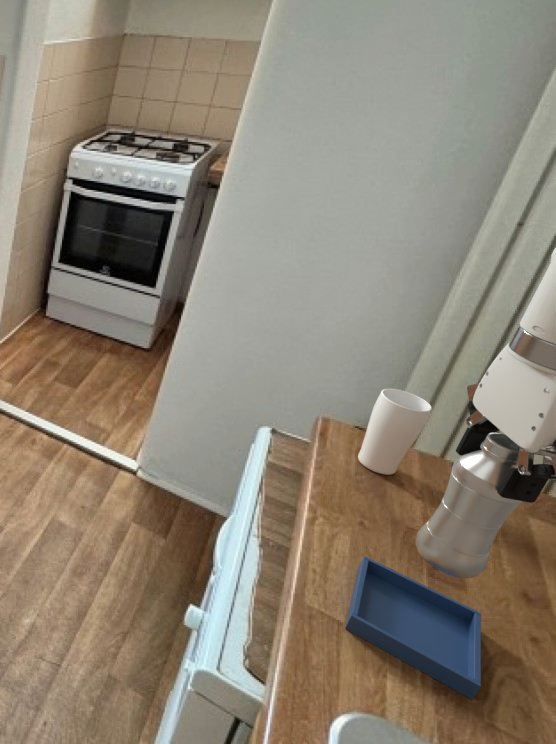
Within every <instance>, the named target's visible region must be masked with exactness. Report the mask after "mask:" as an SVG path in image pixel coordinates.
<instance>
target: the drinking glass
mask: <svg viewBox="0 0 556 744" xmlns="http://www.w3.org/2000/svg"><path fill="white" fill-rule="evenodd" d="M432 410H433V408H432V405H431V404H430V403H429V402H428V401H426V400H425V399H424V398H422V397H420V396H418V395H417V394H415V393H411V392H408V391H406V390H403V389H398V388H384V389H382V390H381V391H380V393H379V395H378V396H377V399H376V401H375V402H374V405H373V408H372V410H371V414H370V417H369V419H368V420H369V421H368V424H367V427H366V431H365V433H364V438H363V440H362V444H361V447H360V450H359V452H358V454H357V459H358V461H359V463H360V464H361V465H362V466H364V467H365V469H369V470H370V471H372V472H374V473H377V474H380V475H383V476H385V475H386V476H391V475H394V474H395V473H396V472H397V470H398V468H399V467H400V464H401V463H402V461H403V460H404V459H405V458H406V455H407V454H408V452H409V451H410V450H411V448H412V446H413V445H414V443H415V442H416V440H417V439H418V437H419V436H420V435H421V433H422V432H423V430H424V428H425V426H426V424H427V422H428V421H429V418H430V415H431V413H432Z"/></svg>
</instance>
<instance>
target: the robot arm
mask: <svg viewBox="0 0 556 744" xmlns="http://www.w3.org/2000/svg"><path fill="white" fill-rule="evenodd" d="M466 390H467V397H468V401H469V402H468V403H467V408H468V413H469V416H468V417H466V419H465V424H466V425H467V427H466V429H465V431H464V433H463V435H462V437H461V439H460V441H459V442H458V445H457V446H456V448H455V453H456V454H458V455H459V456H460V457H461V456H462V455H465V454H468V453H471V452H474V451H479V450H482V449H481V447H480V446H481V443H482V442H483V441H484V440H485V439H486V437H487V435H488V434H489V433H493V432H494V433H500V432H499V431H501V433H502V434H505V435H507V436H508V437H509V438H510V439H511V440H512V441H514V442H515V443H516V444H517V445H518V446H519V457H518V468H512V467H511V468H510V469H509V471H508V473H507V475H506V476H505V478H504V480H503V482H502V483H501V485H500V487H499V489H498V491H497V493H498V494H499V495H500V496H501V497H503V498H508V499H513V500H518V501H522V502H523V503H524V502H525V503H529V504H532V503H533V504H534V503H535V502H536V501H537V500H538V498H539V496H540V495H541V493H542V491H543V489H544V488H545V486H546V485H547V483H548V481H549V480H550V481H556V247H554V249H553V251H552V253H551V256H550V263H549V265H548V268H547V269H546V271H545V273H544V274H543V277H542V279H541V281H540V282H539V285H538V287H537V289H536V290H535V293H534V294H533V296H532V298H531V300H530V301H529V304H528V306H527V308H526V310H525V312H524V314H523V316H522V318H521V319H520V321H519V323H518V325H517V327H516V329H515V331H514V333H513V334H512V337H511V338H510V341H509V342H508V343H507V344H505V346H504V347H503V349H501V351H500V352H499V353H498V354H497V356H496V357H495V358H494V360H493V361H492V362H491V364H490V365H489V366H488V368H487V369H486V371H485V373H484V375H483V376H482V377H481V380H480V382H478V383H473V384H469V385H467V387H466ZM535 455H536V456H542V463H534V461H535V460H534V459H535Z"/></svg>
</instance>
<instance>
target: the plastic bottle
mask: <svg viewBox="0 0 556 744" xmlns="http://www.w3.org/2000/svg"><path fill="white" fill-rule="evenodd" d="M480 447H481V449H482V450H479V451H474V452H471V453H468V454H465V455H462V456H461V455H460V457H458V458H457V459H456V460H455V461H453V465H452V468H451V471H450V475H449V480H448V483H447V487H446V490H445V492H444V494H443V497H442V499H441V502H440V503H439V505H438V506H437V507H436V510H435V511H434V512H433V514H432V515H431V517H430V518H429V519H428V520H427V521H425V523H424V524H423V525H422V526H421V527H420V528H419V529H418V531H417V533H416V537H415V538H416V539H415V542H414V543H415V547H416V550H417V552H418V554H419V555H420V557H421V559H422V560H424V561H425V562H426V563H427V564H429V565H430V566H431V567H433V568H434V569H436V570H437V571H440V572H442V573H444V574H446V575H448V576H451V577H453V578H459V579H472V578H476V577H478V576H479V575H481V573H483V572H484V571H485V570H486V569H487V567H488V565H489V561H490V556H491V549H492V547H493V544H494V542H495V540H496V537H497V534H498V532H499V530H500V529H501V528H502V526H503V525H504V524H505V522H506V521H507V519H508V518H509V516H510V515H511V514H512V513H513V512H514V511H515V510H516V508H517V507H519V506H520V505H521V503H523V501H518V500H513V499H508V498H503V497H501V496H500V495H499V494H498V493H497V491H498V489H499V487H500V485H501V483H502V482H503V480H504V478H505V476H506V475H507V473H508V471H509V469H510V468H511V467H512V468H518V457H519V446H518V445H517V444H516V443H515V442H514V441H512V440H511V439H510V438H509V437H508V436H507V435H505V434H504V433H503V432H499V433H494V432H493V433H489V434H488V435H487V437H486V439H485V440H484V441H483V442H482V443H481V446H480Z"/></svg>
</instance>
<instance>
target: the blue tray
mask: <svg viewBox="0 0 556 744" xmlns="http://www.w3.org/2000/svg"><path fill="white" fill-rule="evenodd" d="M351 594H352V595H351V600H350V604H349V608H348V613H347V618H346V622H345V626H344V629H345V630H346V631H348V632H351V633H352V634H354V635H355V636H358V637H359V638H361V639H363V640H364V641H366V642H368V643H370V644H372V645H374V646H375V647H377V648H378V649H381V650H382V651H384V652H386V653H388V654H389V655H391V656H392V657H394V658H397V660H400V661H402V662H404V663H405V664H407V665H409V666H411V667H413V668H414V669H415V670H418V671H420V672H421V673H423V674H425V675H426V676H429V677H430V678H432V679H434V680H435V681H438V682H439V683H441V684H442V685H445V686H446V687H447V688H450V689H452V690H453V691H455V692H457V693H459V694H461V695H462V696H464V697H466V698H467V699H470V700H473V699H474V698H475V696H476V695H477V693H478V692H479V691H480V689H481V687H482V613H481V612H480V611H478V610H476V609H474V608H472V607H470V606H468V605H466V604H463V603H461V602H460V601H458V600H456V599H453V598H451V597H449V596H447V595H446V594H443V593H442V592H439V591H437V590H435V589H433V588H431V587H429V586H427V585H425V584H424V583H421V582H418V581H417V580H414V579H413V578H410V577H409V576H407V575H405V574H403V573H400V572H399V571H396V570H394V569H392V568H391V567H388V566H386V565H384V564H382V563H379V562H378V561H376V560H374V559H372V558H369V557H368V556H366V555H364V556H363V557H362V559H361V562H360V564H359V566H358V568H357V572H356V578H355V581H354V586H353V590H352V593H351Z"/></svg>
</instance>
